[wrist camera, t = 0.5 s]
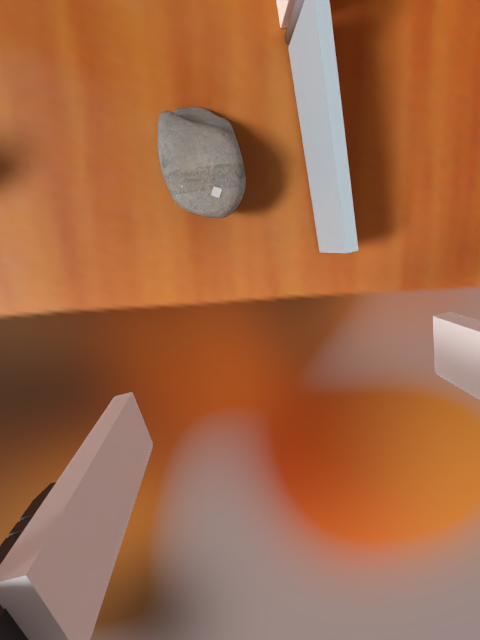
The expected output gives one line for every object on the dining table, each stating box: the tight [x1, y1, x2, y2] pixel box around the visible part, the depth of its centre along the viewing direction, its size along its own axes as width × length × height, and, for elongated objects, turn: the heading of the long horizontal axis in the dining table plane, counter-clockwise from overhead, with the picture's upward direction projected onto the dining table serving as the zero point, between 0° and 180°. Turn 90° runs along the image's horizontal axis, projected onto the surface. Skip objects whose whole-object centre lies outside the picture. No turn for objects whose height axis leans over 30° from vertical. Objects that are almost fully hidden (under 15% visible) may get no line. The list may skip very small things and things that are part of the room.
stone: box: [157, 107, 246, 218], centre depth 29 cm, size 9×9×10 cm
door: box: [285, 0, 358, 253], centre depth 27 cm, size 23×3×8 cm, turn 13°
